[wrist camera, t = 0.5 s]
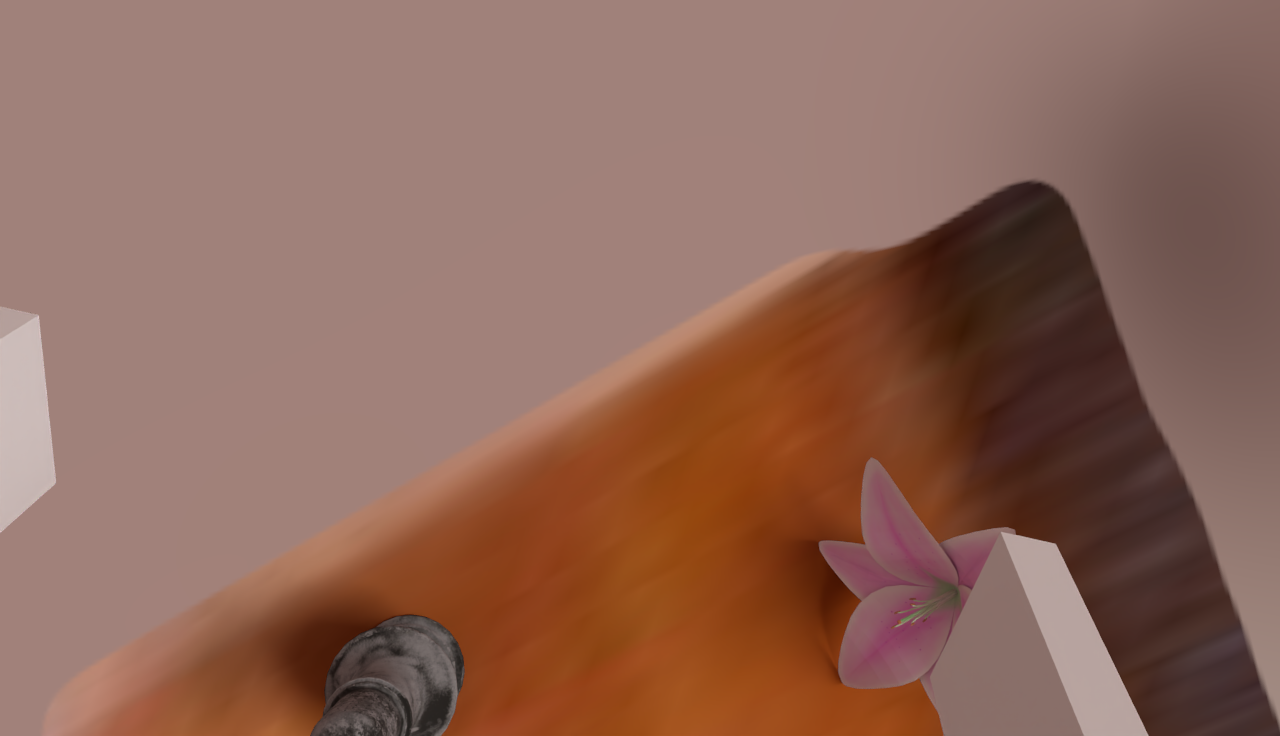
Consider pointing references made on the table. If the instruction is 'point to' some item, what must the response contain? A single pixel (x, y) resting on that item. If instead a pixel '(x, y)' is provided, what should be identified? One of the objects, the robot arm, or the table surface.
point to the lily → (901, 588)
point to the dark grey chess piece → (394, 681)
